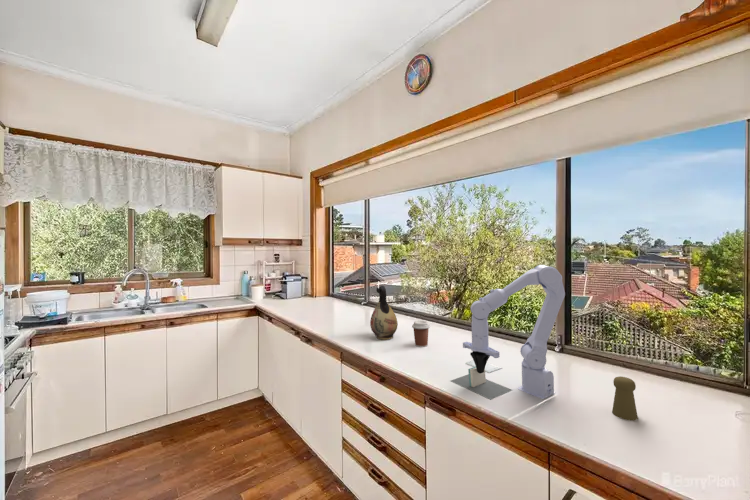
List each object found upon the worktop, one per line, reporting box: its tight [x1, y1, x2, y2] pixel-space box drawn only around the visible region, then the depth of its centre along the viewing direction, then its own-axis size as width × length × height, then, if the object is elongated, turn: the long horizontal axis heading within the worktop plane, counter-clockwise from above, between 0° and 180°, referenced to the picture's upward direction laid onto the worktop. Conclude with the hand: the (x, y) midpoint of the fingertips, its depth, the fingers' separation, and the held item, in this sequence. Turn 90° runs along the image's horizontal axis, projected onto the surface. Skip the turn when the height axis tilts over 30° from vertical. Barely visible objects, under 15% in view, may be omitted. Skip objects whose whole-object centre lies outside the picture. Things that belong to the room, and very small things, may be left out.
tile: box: [467, 367, 487, 387], centre depth 116 cm, size 2×7×6 cm, turn 123°
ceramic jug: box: [369, 285, 398, 341], centre depth 178 cm, size 17×15×30 cm
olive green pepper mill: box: [611, 376, 639, 422], centre depth 94 cm, size 6×6×11 cm
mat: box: [450, 373, 513, 401], centre depth 115 cm, size 18×12×1 cm, turn 33°
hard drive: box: [465, 359, 503, 374], centre depth 133 cm, size 2×8×12 cm
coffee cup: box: [411, 320, 431, 348], centre depth 164 cm, size 9×9×12 cm
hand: (480, 372), depth 114 cm, fingers closed
